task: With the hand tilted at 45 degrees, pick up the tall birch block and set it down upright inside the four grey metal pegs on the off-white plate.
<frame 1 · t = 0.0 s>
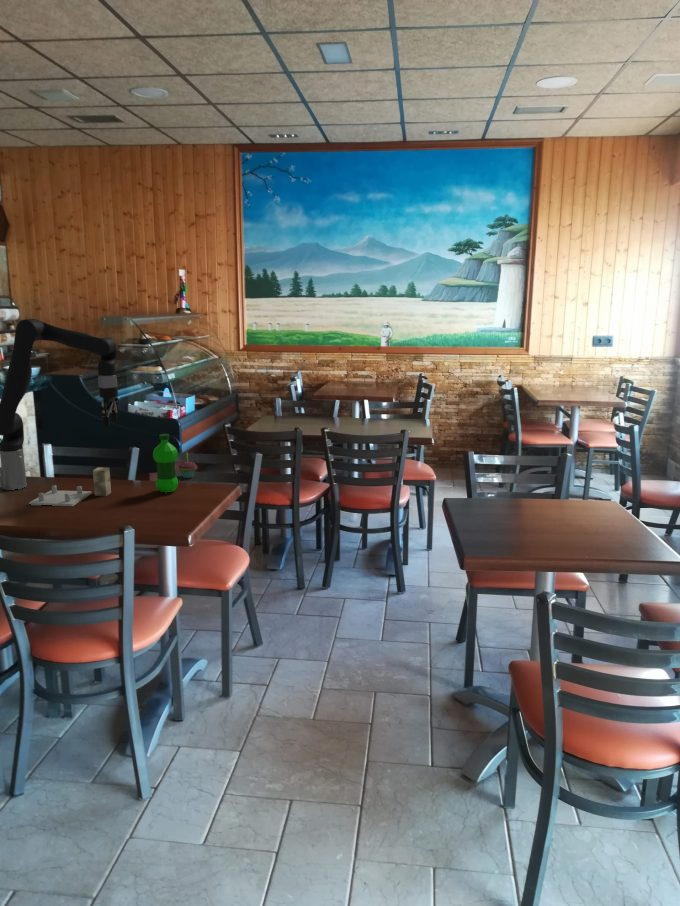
hand: (110, 423, 289), 29 cm above the table, tool pointing down, fingers open, 8 cm apart
birch block: (103, 494, 290), on the table
cupcake: (188, 477, 318), on the table
peg plate: (61, 499, 282), on the table
plastic bottle: (167, 491, 294), on the table
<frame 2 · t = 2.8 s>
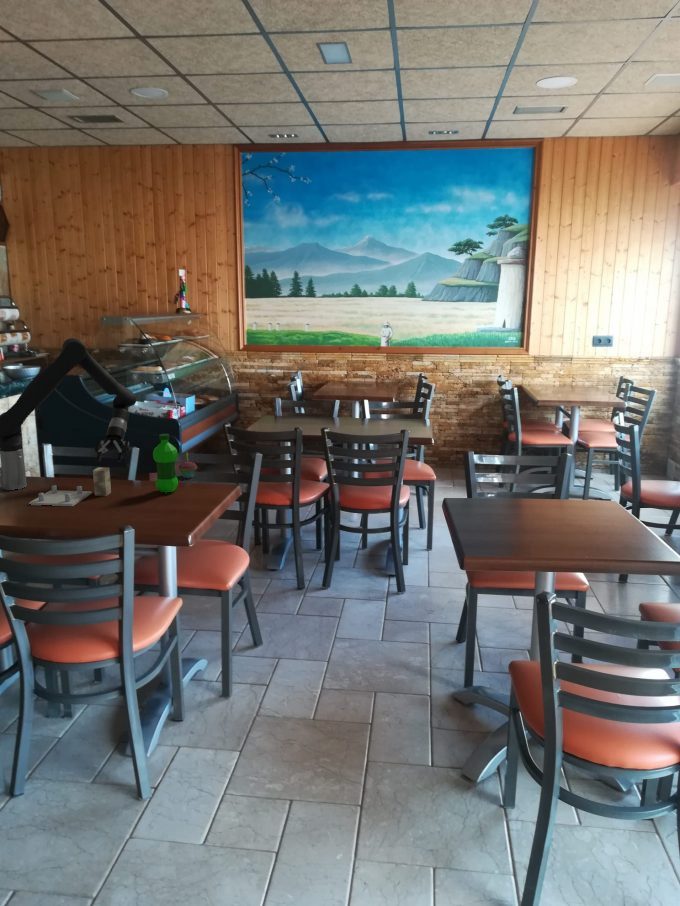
hand: (108, 461, 295), 12 cm above the table, tool tilted 45°, fingers open, 8 cm apart
nothing on the table moved.
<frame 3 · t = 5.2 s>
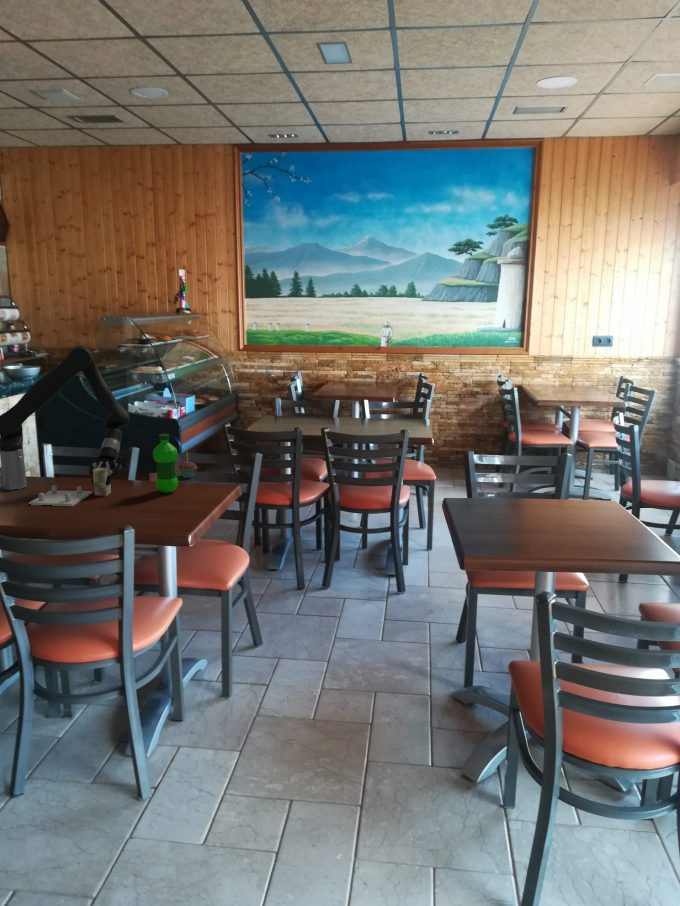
hand: (100, 484, 287), 5 cm above the table, tool tilted 45°, fingers closed on birch block, 5 cm apart
birch block: (103, 494, 290), on the table, touching gripper
everything else where it was.
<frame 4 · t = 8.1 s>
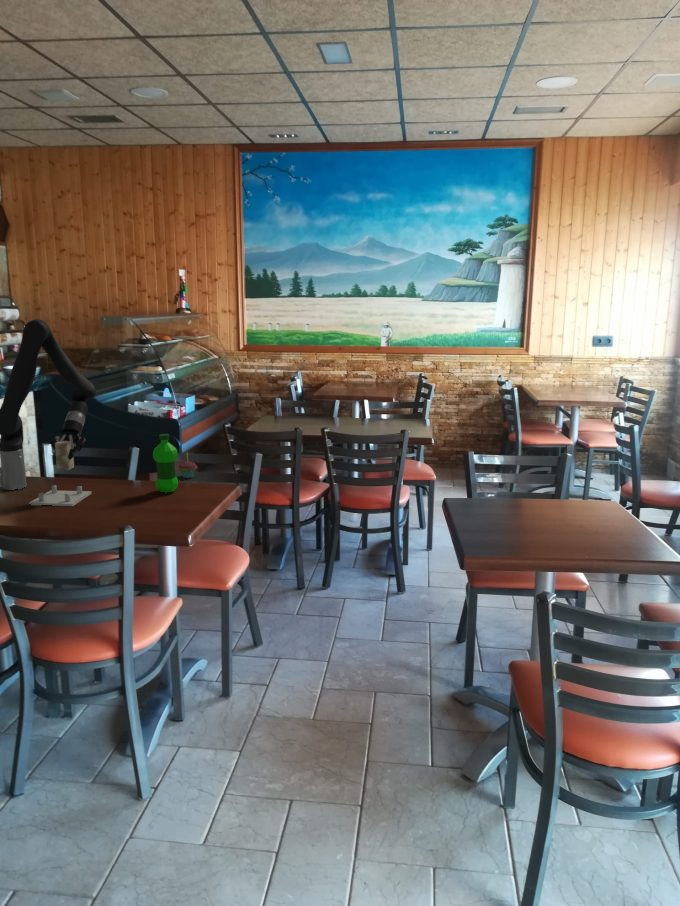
hand: (62, 458, 278), 18 cm above the table, tool tilted 45°, fingers closed on birch block, 5 cm apart
birch block: (65, 468, 281), point 13 cm above the table, touching gripper
everything else where it was.
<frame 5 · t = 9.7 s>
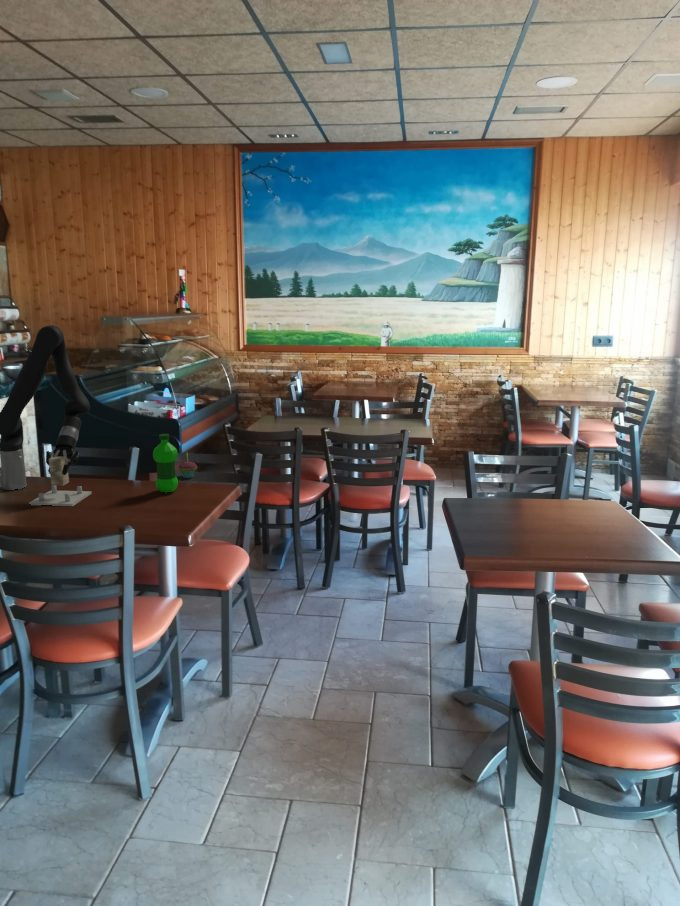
hand: (57, 473, 278), 11 cm above the table, tool tilted 45°, fingers closed on birch block, 5 cm apart
birch block: (60, 483, 281), point 7 cm above the table, touching gripper
everything else where it was.
when the fingers open (7 cm above the table, at t = 10.9 s): birch block drops 1 cm, resting on peg plate.
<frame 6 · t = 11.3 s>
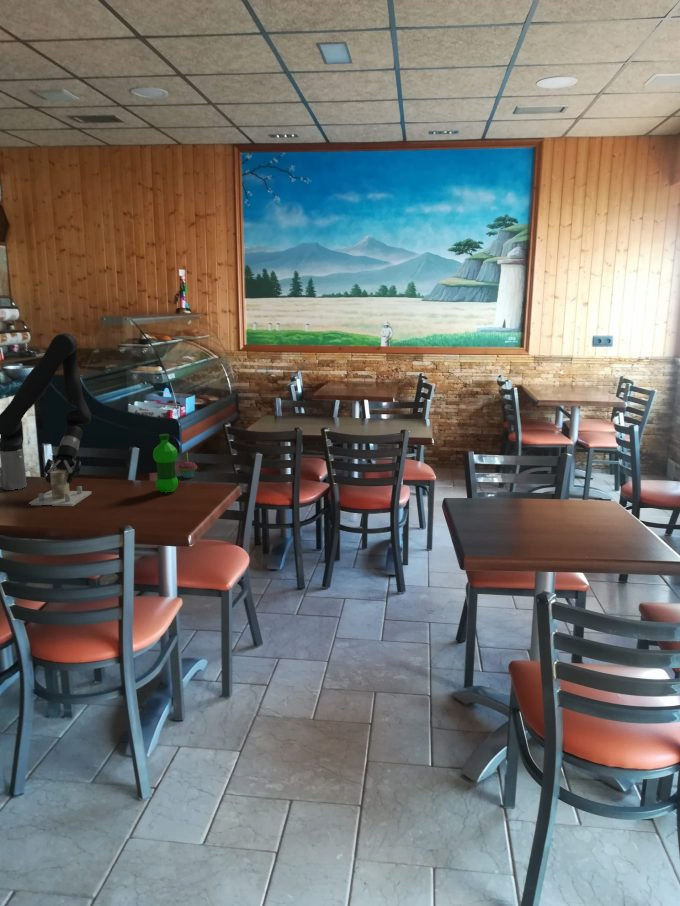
hand: (58, 482, 279), 8 cm above the table, tool tilted 45°, fingers open, 8 cm apart
birch block: (61, 496, 282), point 1 cm above the table, touching peg plate
everything else where it was.
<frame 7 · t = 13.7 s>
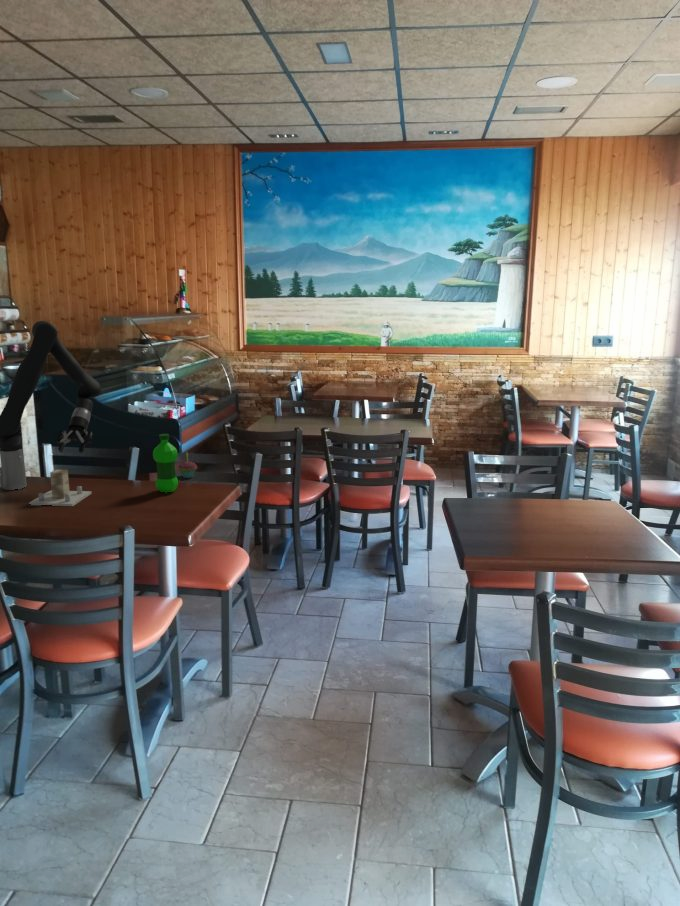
hand: (70, 451, 289), 18 cm above the table, tool tilted 45°, fingers open, 8 cm apart
nothing on the table moved.
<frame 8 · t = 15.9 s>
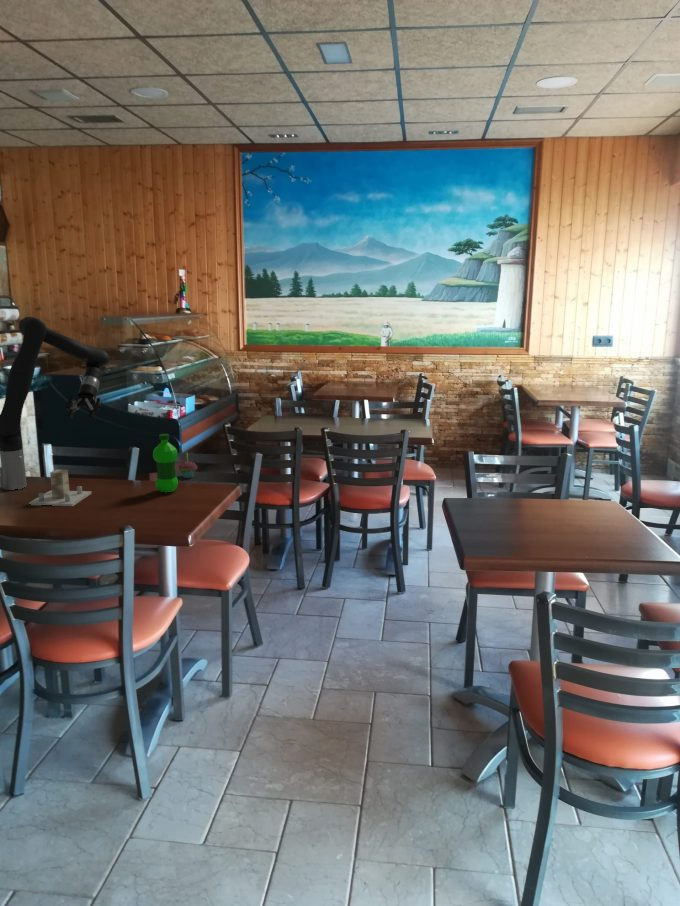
hand: (79, 418, 293), 31 cm above the table, tool tilted 45°, fingers open, 8 cm apart
nothing on the table moved.
at the end: birch block 0.1 cm off-centre on the peg plate, point 1.0 cm above the peg plate's base; birch block tilted 0°; the gripper is holding nothing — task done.
